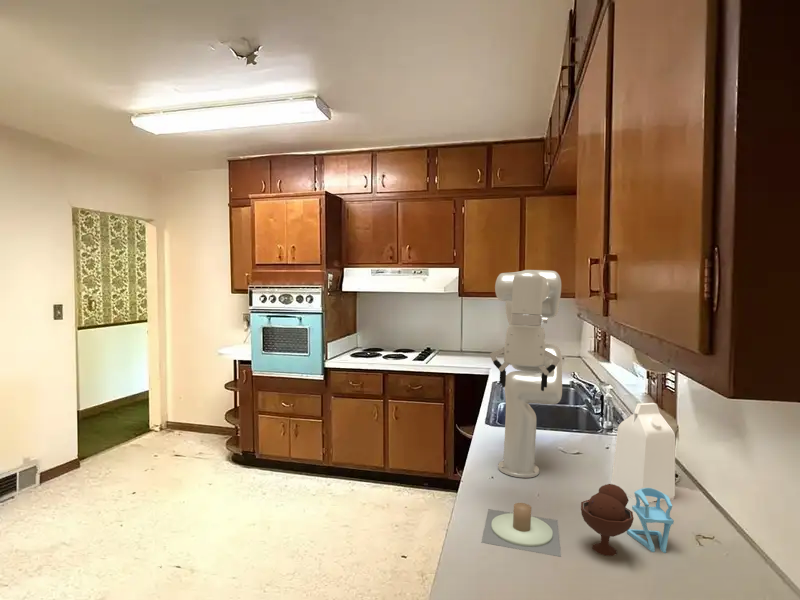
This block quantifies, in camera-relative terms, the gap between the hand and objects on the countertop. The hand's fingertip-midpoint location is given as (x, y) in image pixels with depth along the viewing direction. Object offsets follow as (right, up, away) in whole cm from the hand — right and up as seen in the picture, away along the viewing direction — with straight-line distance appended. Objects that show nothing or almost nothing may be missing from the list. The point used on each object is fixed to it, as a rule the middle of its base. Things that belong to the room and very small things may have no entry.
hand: (522, 388), depth 123 cm
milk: (+39, -34, +17) cm, 54 cm away
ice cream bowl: (+14, -34, -16) cm, 40 cm away
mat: (-3, -33, -9) cm, 34 cm away
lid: (-3, -32, -9) cm, 33 cm away
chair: (+27, -34, -11) cm, 45 cm away
